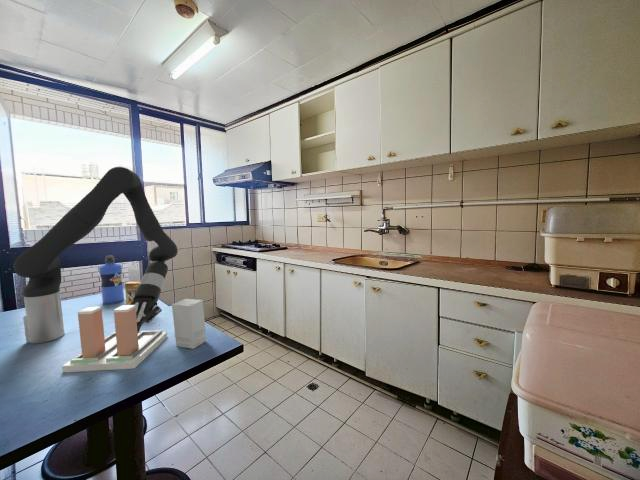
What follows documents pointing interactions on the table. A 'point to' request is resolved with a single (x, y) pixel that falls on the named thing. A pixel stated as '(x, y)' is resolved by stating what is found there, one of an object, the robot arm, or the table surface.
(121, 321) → the peach and white pillar
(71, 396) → the table surface
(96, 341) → the orange and white block
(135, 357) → the switch board
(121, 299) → the water bottle
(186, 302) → the skincare box
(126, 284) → the candy box
